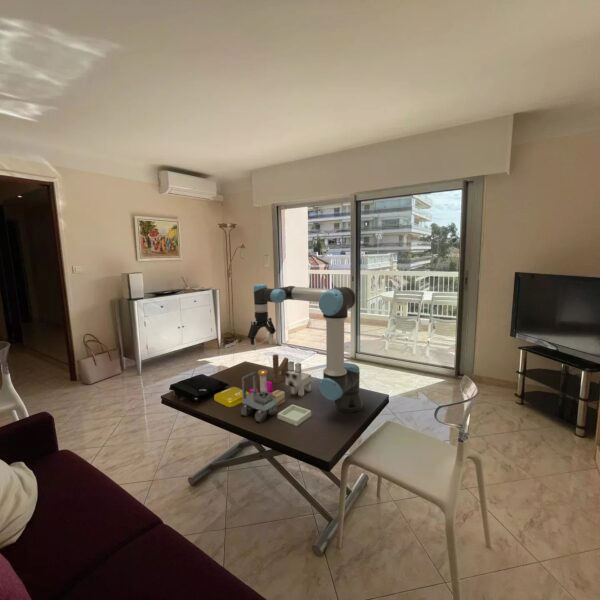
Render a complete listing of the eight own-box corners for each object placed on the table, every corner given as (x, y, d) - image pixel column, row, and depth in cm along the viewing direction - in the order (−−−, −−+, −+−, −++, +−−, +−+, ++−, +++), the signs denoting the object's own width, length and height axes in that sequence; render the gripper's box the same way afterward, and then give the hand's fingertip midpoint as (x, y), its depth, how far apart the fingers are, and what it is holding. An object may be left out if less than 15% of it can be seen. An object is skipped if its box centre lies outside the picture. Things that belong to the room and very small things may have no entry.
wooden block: (288, 379, 208) (288, 352, 205) (275, 383, 201) (274, 356, 198) (285, 377, 211) (284, 351, 208) (272, 382, 204) (271, 355, 201)
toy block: (258, 405, 173) (257, 392, 172) (250, 402, 177) (249, 390, 175) (276, 395, 185) (275, 383, 184) (268, 393, 189) (267, 381, 187)
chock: (284, 402, 176) (284, 391, 176) (276, 407, 171) (276, 396, 170) (278, 399, 179) (277, 389, 178) (269, 404, 174) (269, 394, 173)
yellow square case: (234, 392, 190) (233, 385, 189) (251, 399, 181) (250, 391, 180) (212, 402, 179) (212, 394, 178) (229, 410, 169) (229, 401, 169)
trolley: (279, 413, 164) (278, 376, 161) (260, 425, 153) (258, 385, 150) (258, 405, 173) (257, 370, 170) (239, 416, 162) (237, 378, 159)
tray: (311, 416, 160) (311, 410, 160) (296, 426, 151) (296, 421, 150) (292, 409, 167) (292, 404, 167) (277, 419, 158) (277, 413, 158)
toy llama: (313, 389, 192) (312, 357, 189) (296, 400, 178) (296, 366, 175) (303, 386, 196) (302, 355, 193) (286, 397, 182) (285, 363, 179)
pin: (270, 399, 160) (269, 370, 157) (264, 403, 156) (262, 373, 154) (263, 397, 162) (262, 368, 160) (257, 400, 159) (256, 371, 157)
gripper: (271, 307, 194) (273, 341, 197) (239, 314, 175) (241, 351, 178) (280, 308, 189) (281, 343, 192) (249, 315, 170) (250, 353, 173)
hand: (262, 347), depth 185 cm, fingers open, 13 cm apart
